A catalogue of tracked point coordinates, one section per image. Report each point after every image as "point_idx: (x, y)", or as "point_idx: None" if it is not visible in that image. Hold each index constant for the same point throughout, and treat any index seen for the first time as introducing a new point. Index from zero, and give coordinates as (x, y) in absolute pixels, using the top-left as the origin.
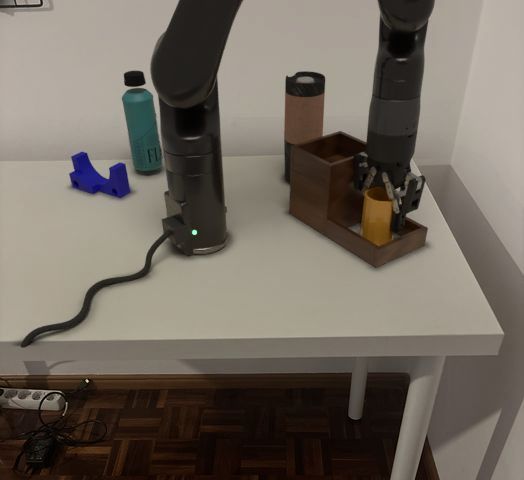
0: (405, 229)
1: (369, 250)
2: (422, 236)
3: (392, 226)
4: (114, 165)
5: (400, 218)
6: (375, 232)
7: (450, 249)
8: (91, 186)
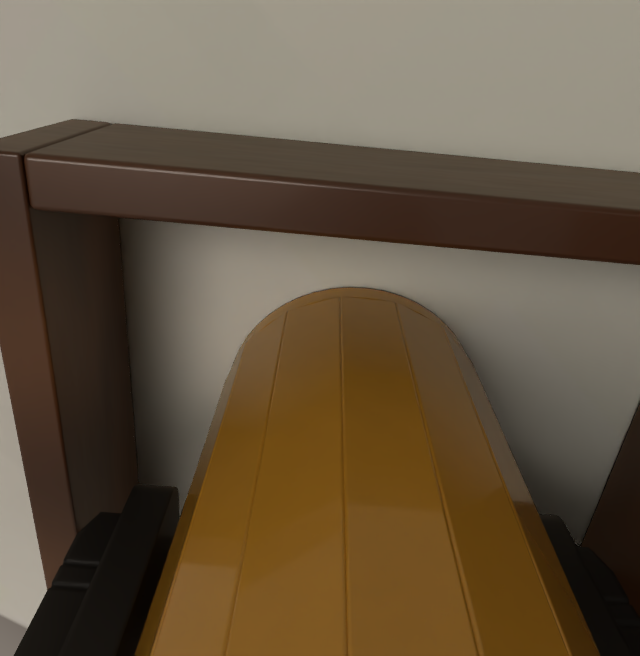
0: None
1: (130, 146)
2: None
3: (135, 524)
4: None
5: (25, 644)
6: (266, 388)
7: (10, 604)
8: None
